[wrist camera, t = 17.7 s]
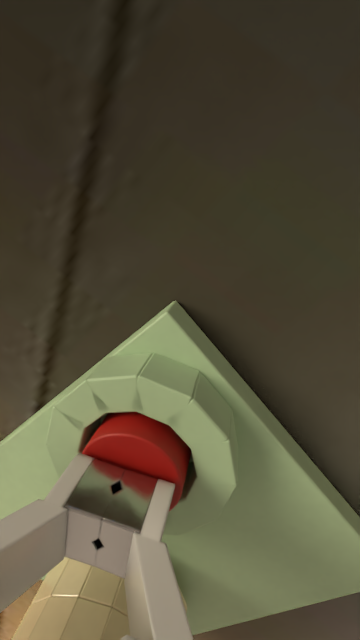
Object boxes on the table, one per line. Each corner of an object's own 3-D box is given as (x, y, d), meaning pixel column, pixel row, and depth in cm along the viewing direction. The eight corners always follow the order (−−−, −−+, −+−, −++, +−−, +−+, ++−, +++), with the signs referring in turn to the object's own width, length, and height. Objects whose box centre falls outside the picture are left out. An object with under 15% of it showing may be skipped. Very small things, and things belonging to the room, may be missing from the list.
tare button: (150, 378, 10) (129, 415, 8) (212, 447, 10) (205, 496, 8) (89, 422, 11) (58, 463, 9) (146, 482, 11) (128, 532, 10)
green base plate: (175, 297, 10) (150, 327, 8) (382, 543, 12) (424, 641, 9) (-33, 467, 16) (-93, 521, 13) (131, 622, 17) (109, 698, 15)
